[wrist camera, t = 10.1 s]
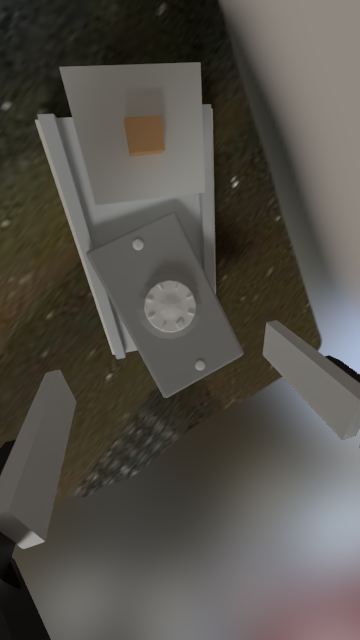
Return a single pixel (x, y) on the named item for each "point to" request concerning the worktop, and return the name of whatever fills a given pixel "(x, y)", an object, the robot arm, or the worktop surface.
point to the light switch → (166, 303)
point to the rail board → (133, 163)
